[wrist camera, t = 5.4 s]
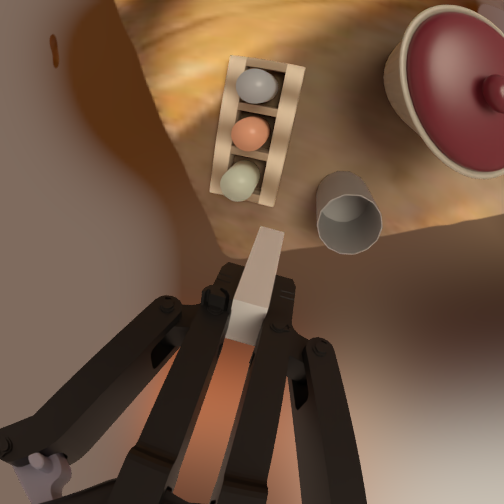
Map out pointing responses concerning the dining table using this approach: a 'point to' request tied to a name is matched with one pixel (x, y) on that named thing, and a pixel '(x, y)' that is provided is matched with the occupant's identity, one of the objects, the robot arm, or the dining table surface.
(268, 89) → the grey egg
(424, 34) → the canister
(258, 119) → the brown egg
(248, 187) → the pale green egg
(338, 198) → the cup
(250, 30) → the dining table surface
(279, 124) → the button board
